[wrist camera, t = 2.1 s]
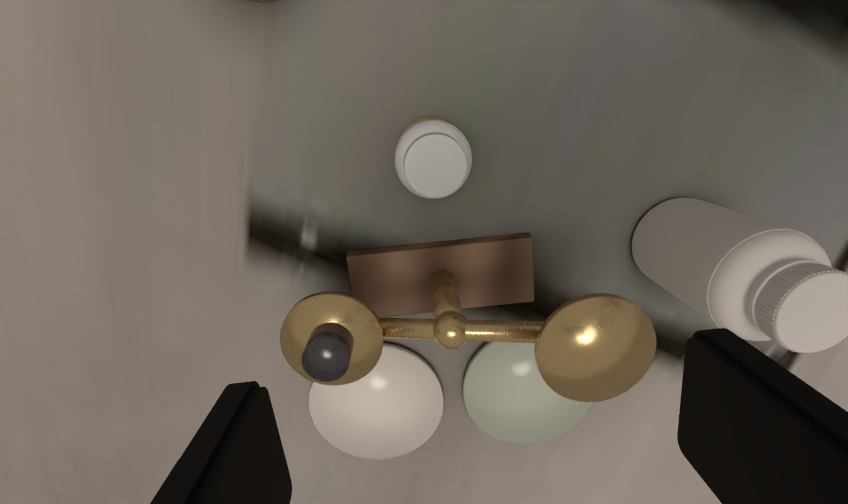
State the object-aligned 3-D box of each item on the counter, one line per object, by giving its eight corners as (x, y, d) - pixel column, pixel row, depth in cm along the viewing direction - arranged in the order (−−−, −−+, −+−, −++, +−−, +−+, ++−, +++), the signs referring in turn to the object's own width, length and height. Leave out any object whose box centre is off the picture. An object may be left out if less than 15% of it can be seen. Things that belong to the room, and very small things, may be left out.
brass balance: (570, 222, 39) (660, 291, 25) (569, 295, 41) (652, 396, 27) (306, 250, 39) (246, 334, 25) (320, 320, 41) (272, 434, 27)
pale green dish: (593, 316, 42) (599, 323, 41) (590, 427, 46) (595, 437, 45) (457, 330, 42) (458, 338, 41) (466, 440, 46) (468, 450, 45)
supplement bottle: (398, 114, 36) (394, 118, 26) (464, 117, 36) (482, 123, 27) (396, 180, 37) (391, 206, 28) (459, 184, 38) (474, 210, 28)
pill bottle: (731, 247, 40) (908, 327, 26) (652, 295, 41) (778, 396, 27) (695, 176, 38) (866, 221, 24) (613, 230, 39) (727, 302, 25)
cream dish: (436, 332, 42) (437, 340, 41) (447, 442, 46) (448, 452, 45) (300, 346, 42) (297, 354, 41) (324, 454, 46) (321, 465, 45)
